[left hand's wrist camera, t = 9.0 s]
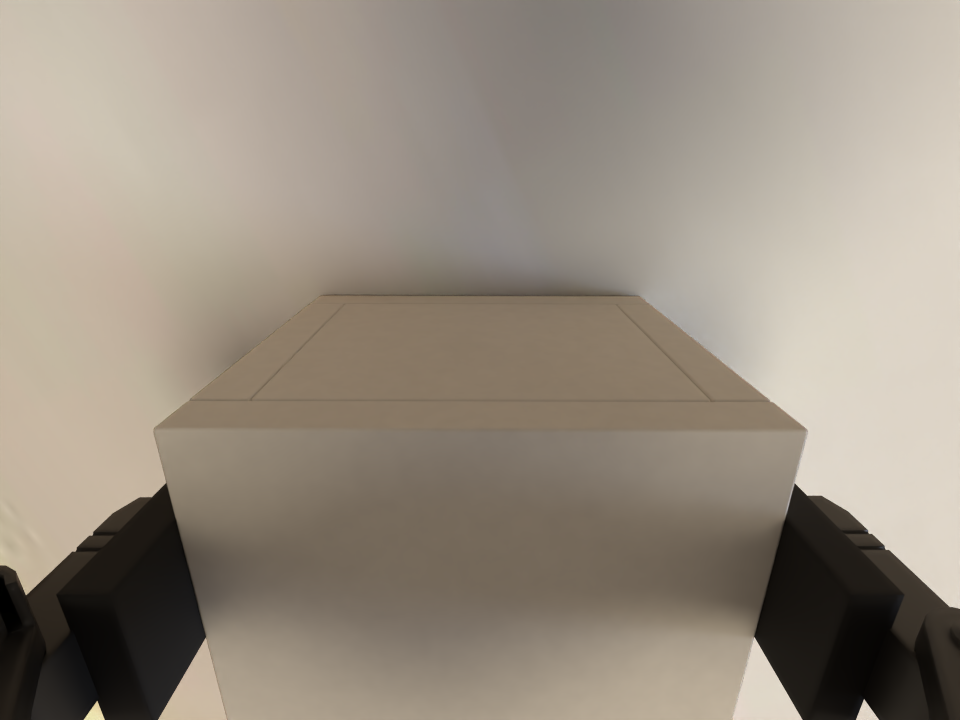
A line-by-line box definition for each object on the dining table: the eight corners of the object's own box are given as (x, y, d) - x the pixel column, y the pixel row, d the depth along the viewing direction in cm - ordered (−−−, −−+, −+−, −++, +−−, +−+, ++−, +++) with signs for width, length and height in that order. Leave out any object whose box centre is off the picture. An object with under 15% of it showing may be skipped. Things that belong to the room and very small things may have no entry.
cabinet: (594, 691, 23) (661, 996, 14) (364, 691, 23) (296, 995, 14) (640, 295, 16) (810, 429, 8) (319, 294, 16) (150, 428, 8)
